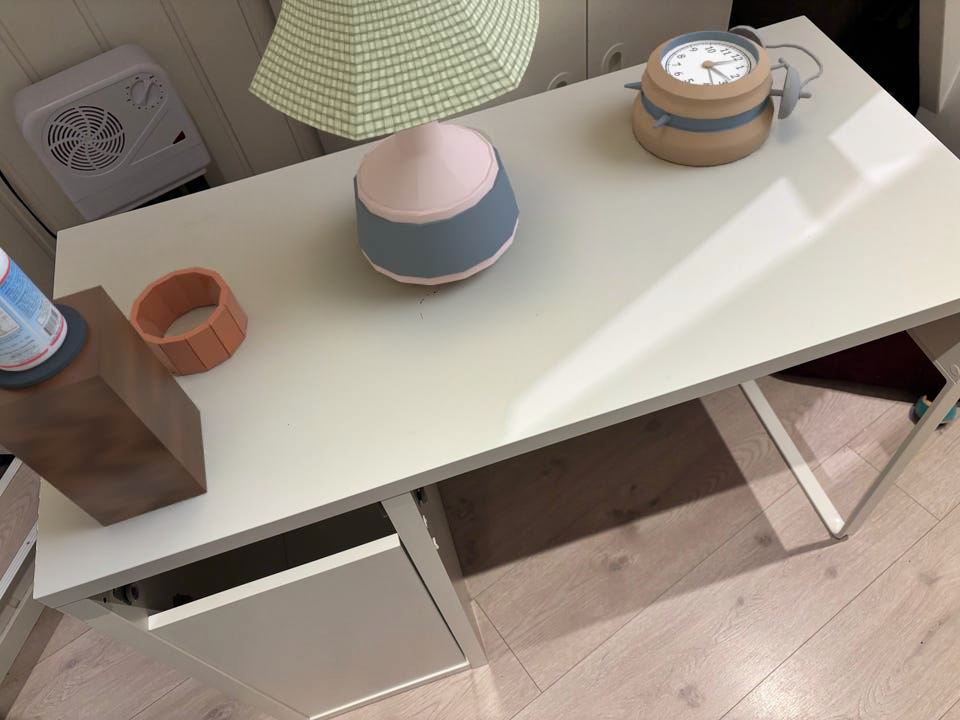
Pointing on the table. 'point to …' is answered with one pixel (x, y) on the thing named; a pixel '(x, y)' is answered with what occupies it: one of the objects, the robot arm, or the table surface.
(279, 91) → the desk lamp
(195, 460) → the riser
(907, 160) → the table surface
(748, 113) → the alarm clock
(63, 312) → the coaster
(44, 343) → the pill bottle
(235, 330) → the desk pot
